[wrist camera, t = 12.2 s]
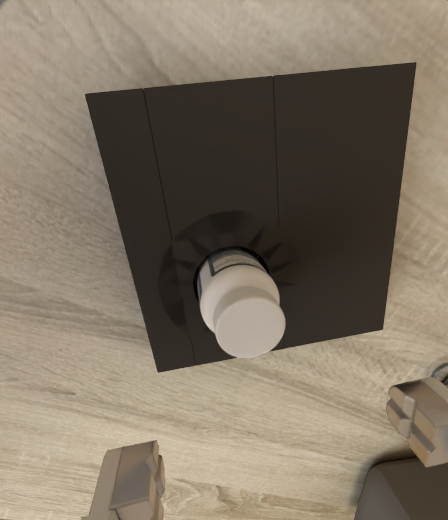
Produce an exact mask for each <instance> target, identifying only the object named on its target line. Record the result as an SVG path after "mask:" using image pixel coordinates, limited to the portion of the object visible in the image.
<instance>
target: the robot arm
mask: <svg viewBox="0 0 448 520" xmlns="http://www.w3.org/2000/svg"><path fill="white" fill-rule="evenodd" d="M388 394H389V395H390V397H391V399H390V400H389V401H388V403H387V407H386V412H387V415H388V418H389V420H390V422H391V424H392V425H393V427H394V428H395V429H396V431H397V432H398V433H399V434H401V435H402V436H404V437H406V438H408V443H409V447H410V448H411V449H412V451H413V452H414V453H415V454H416V456H417V457H418V458H419V459H420V461H421V462H422V463H423V464H424V466H425V467H430V466H435V465H439V464H444V463H448V388H447V387H446V386H445V385H444V384H443V383H441V382H440V381H439V380H438V379H436V378H434V377H428V378H424V379H420V380H414V381H410V382H406V383H402V384H398V385H394V386H391V387H390V388H389V393H388ZM164 491H165V468H164V462H163V458H162V456H161V455H159V445H158V442H157V440H155V441H150V442H145V443H140V444H135V445H130V446H126V447H120V448H116V449H112V450H107V452H106V454H105V456H104V459H103V462H102V466H101V470H100V474H99V478H98V481H97V485H96V489H95V493H94V497H93V500H92V504H91V508H90V512H89V516H85V517H83V518H82V519H81V520H163V514H164V508H163V505H162V502H161V499H160V498H161V497H162V495H163V493H164Z"/></svg>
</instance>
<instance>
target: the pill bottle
mask: <svg viewBox="0 0 448 520" xmlns="http://www.w3.org/2000/svg"><path fill="white" fill-rule="evenodd" d="M196 280H197V288H198V296H199V304H200V310H201V314H202V317H203V320H204V322H205V323H206V325H207V326H208V327H209V329H210V330H211V331H213V332H214V333H215V335H216V339H217V341H218V343H219V345H220V347H221V348H222V349H223V350H224V351H225V352H227V353H228V354H230V355H232V356H234V357H238V358H254V357H258V356H261V355H263V354H265V353H267V352H269V351H270V350H272V349H273V348H274V347H275V346H276V345H277V344H278V343H279V341H280V340H281V338H282V336H283V334H284V331H285V317H284V314H283V311H282V310H281V308H280V306H279V302H280V299H279V292H278V289H277V286H276V284H275V283H274V281H273V280H272V278H271V277H270V275H269V274H268V273H267V272H266V270H265V269H264V268H263V267H262V265H261V264H260V263H259V261H258V260H257V259H256V258H255V256H254V255H253V254H252V252H251V251H250V250H249V249H248V248H244V247H240V246H231V247H225V248H219V249H218V250H216V251H214V252H212V253H211V254H209V255H207V256H206V257H205V259H204V260H203V261H202V262H201V264H200V265H199V266H198V267H197V269H196Z"/></svg>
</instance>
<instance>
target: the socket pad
mask: <svg viewBox="0 0 448 520" xmlns="http://www.w3.org/2000/svg"><path fill="white" fill-rule="evenodd" d="M415 70H416V62H414V63H404V64H393V65H382V66H372V67H361V68H351V69H340V70H330V71H319V72H309V73H298V74H288V75H277V76H267V77H257V78H246V79H236V80H225V81H215V82H204V83H194V84H183V85H173V86H162V87H152V88H144V90H143V89H142V88H141V89H130V90H120V91H109V92H99V93H88V94H85V97H86V101H87V105H88V108H89V112H90V116H91V120H92V124H93V127H94V131H95V135H96V139H97V143H98V146H99V150H100V154H101V158H102V162H103V165H104V169H105V173H106V177H107V181H108V184H109V188H110V192H111V196H112V200H113V204H114V207H115V211H116V215H117V219H118V223H119V226H120V230H121V234H122V238H123V242H124V245H125V249H126V253H127V257H128V261H129V264H130V268H131V272H132V276H133V280H134V284H135V287H136V291H137V295H138V299H139V303H140V306H141V310H142V314H143V318H144V322H145V325H146V329H147V333H148V337H149V341H150V344H151V348H152V352H153V356H154V360H155V363H156V367H157V371H158V372H164V371H169V370H174V369H179V368H185V367H190V366H195V365H201V364H206V363H212V362H217V361H222V360H227V359H233V358H238V357H234V356H232V355H230V354H228V353H227V352H225V351H224V350H223V349H222V348H221V347H220V345H219V343H218V341H217V339H216V335H215V333H214V332H213V331H211V330H210V329H209V327H208V326H207V325H206V323H205V322H204V320H203V317H202V314H201V310H200V304H199V296H198V288H197V284H196V282H195V281H194V276H195V273H196V269H197V267H198V266H199V265H200V264H201V262H202V261H203V260H204V259H205V257H206V256H207V255H209V254H211V253H212V252H214V251H216V250H218V249H219V248H225V247H231V246H240V247H244V248H248V249H251V250H253V251H254V252H255V253H257V254H258V256H259V262H260V264H261V265H262V267H263V268H264V269H265V270H266V272H267V273H268V274H269V275H270V277H271V278H272V280H273V281H274V283H275V284H276V286H277V289H278V292H279V299H280V302H279V306H280V308H281V310H282V311H283V314H284V317H285V331H284V334H283V336H282V338H281V340H280V341H279V343H278V344H277V345H276V346H275V347H274V348H273V349H272V350H270V351H274V350H280V349H284V348H289V347H295V346H300V345H305V344H310V343H315V342H321V341H326V340H331V339H336V338H342V337H347V336H352V335H357V334H362V333H368V332H373V331H378V330H383V324H384V316H385V308H386V301H387V293H388V285H389V277H390V269H391V261H392V253H393V245H394V237H395V229H396V221H397V213H398V205H399V197H400V189H401V181H402V174H403V166H404V158H405V150H406V142H407V134H408V126H409V118H410V110H411V102H412V94H413V86H414V78H415Z"/></svg>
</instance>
